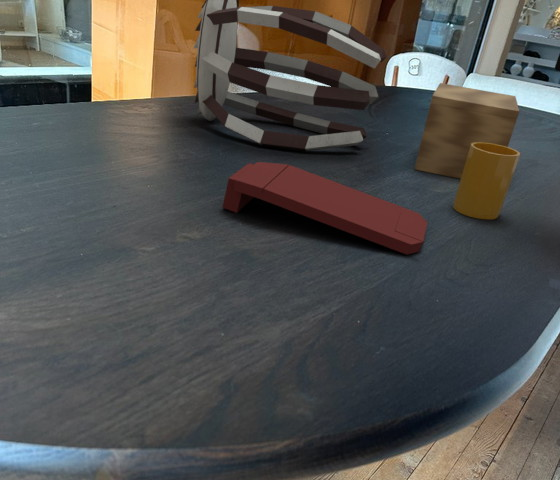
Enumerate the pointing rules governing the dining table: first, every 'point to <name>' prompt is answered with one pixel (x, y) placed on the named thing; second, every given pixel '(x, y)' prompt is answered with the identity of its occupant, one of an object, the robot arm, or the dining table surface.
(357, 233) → the red hooked ramp
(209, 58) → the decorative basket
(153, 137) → the dining table surface
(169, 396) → the dining table surface
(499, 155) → the cup
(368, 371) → the dining table surface
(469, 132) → the wooden block
